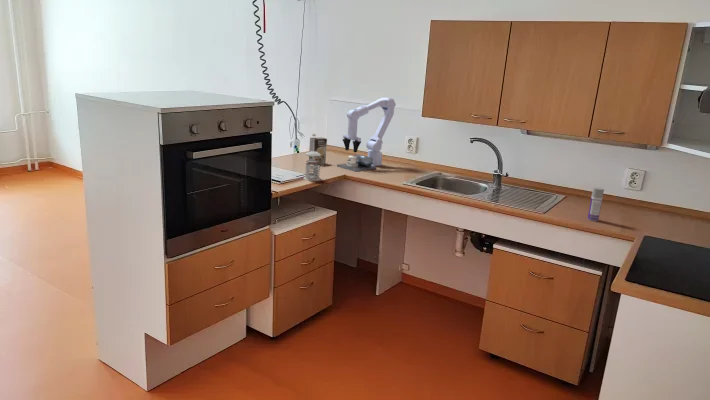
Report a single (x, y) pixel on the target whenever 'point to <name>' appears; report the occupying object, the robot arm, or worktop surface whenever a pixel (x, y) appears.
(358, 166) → the motor mount
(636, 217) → the worktop surface
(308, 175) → the french press
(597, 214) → the container
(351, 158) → the white mushroom knob
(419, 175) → the worktop surface
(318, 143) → the coffee box
